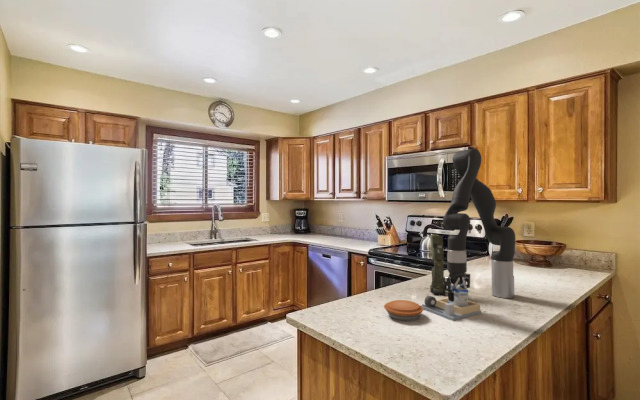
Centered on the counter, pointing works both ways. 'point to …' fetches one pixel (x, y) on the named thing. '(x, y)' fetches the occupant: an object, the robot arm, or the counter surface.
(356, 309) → the counter surface
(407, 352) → the counter surface
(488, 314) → the counter surface
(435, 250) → the mechanical leg
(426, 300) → the wheel
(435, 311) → the chassis
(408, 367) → the counter surface
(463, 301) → the medicine box
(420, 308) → the pie
